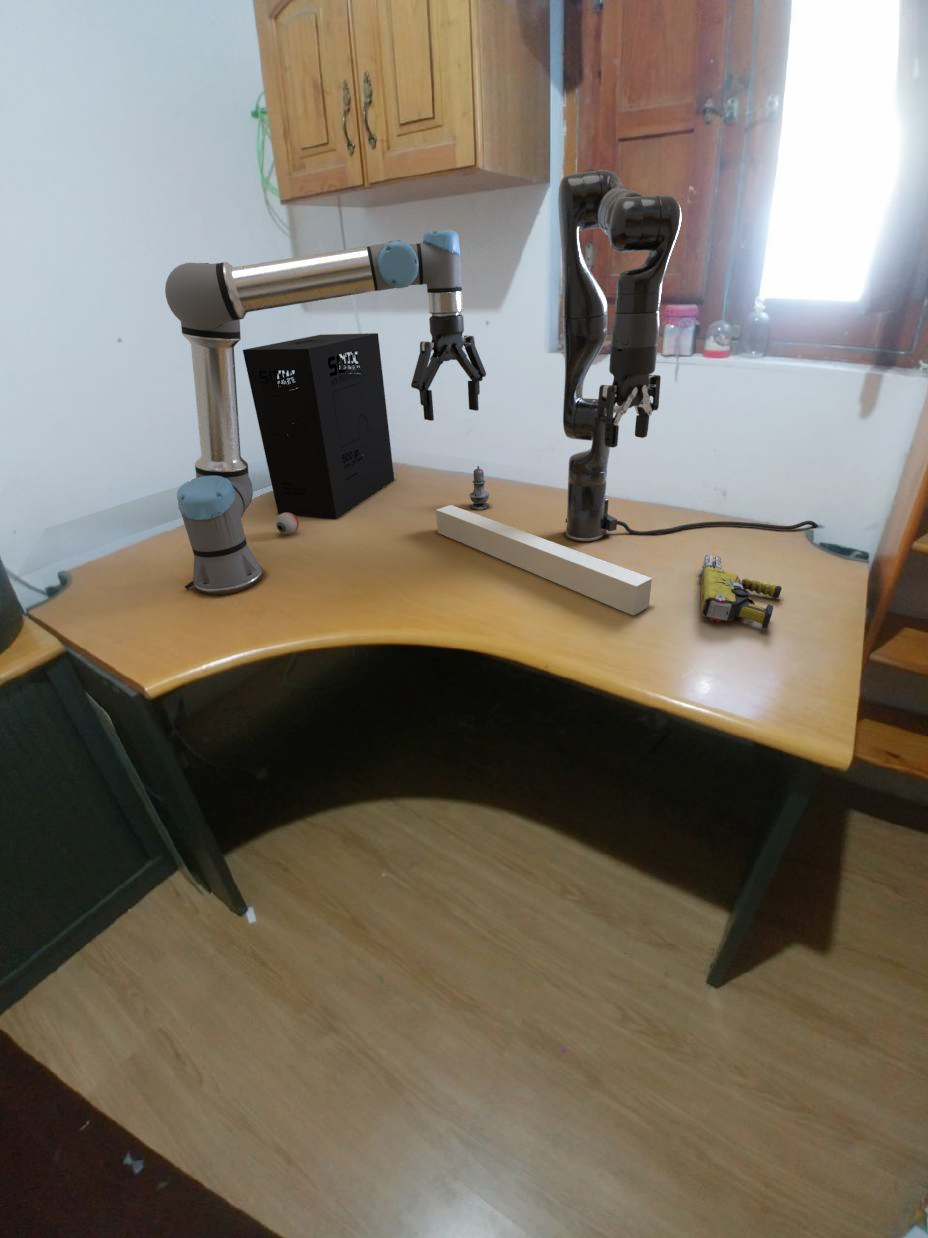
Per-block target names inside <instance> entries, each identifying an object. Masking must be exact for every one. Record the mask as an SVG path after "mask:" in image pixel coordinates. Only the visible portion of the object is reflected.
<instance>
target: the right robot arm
mask: <svg viewBox="0 0 928 1238" xmlns="http://www.w3.org/2000/svg"><path fill="white" fill-rule="evenodd" d="M557 199H558V201H557V203H558V204H557V205H558V206H557V207H558V222H559V234H560V236H559V237H560V247H561V259H562V299H563V300H562V301H563V302H562V328H563V331H562V332H563V346H564V348H563V349H564V386H563V387H564V388H563V406H562V426H563V427H562V428H563V432H564V435H565V436H566V437H567V438H568V439H570V440H577V441H578V440H579V441H588V442H589V441H590V442H591V447H590V448H589V449H587V450H584V451H580V452H576V453H574V454H572V455H571V456H570V457H569V459H568V468H567V469H568V473H567V501H566V502H567V503H566V518H565V523H566V527H565V536H566V537H567V538H568V539H570V540H572V541H576V542H583V543H584V542H586V543H587V542H594V541H599V540H600V539H602V538H604V536H607V531H608V532H613V531H617V530H618V529H617V528H618V526H621V527H623V528H624V529H625V530H626V532H628V533H630V534H632V535H637V536H648V535H649V536H651V535H657V534H665V533H672V532H677V531H680V530H685V529H690V528H697V527H707V526H738V527H739V526H740V527H753V528H761V529H762V528H763V529H770V530H783V531H785V530H787V531H788V530H789V531H791V530H795V529H798V528H802V527H804V526H807V525H810V526H812V527H813V528H819V525H818V524H817V523H816V522H815V521H813V520H804V521H801V522H799V523H796V524H793V525H777V524H776V525H775V524H768V523H759V522H749V521H748V522H747V521H729V520H728V521H727V520H720V521H702V522H701V521H700V522H693V523H686V524H681V525H677V526H672V527H669V528H661V529H652V530H646V531H645V530H644V531H641V530H636V529H635V530H634V529H631V528H630V526H629V525H628V524H627V523H625V522H624V521H622V520H618V519H617V518H616V517H614V516H612V515H610V514H609V498H607V497H606V493H607V477H608V465H609V464H608V463H609V459H610V451H611V448H612V449H613V448H616V447H618V442H619V431H620V430H619V429H620V425H619V423H620V421H621V419H622V417H623V415H625V414H626V413H627V412H628V410H629V409H631V408H633V407H634V409H635V411H636V414H637V415H636V416H635V427H634V428H635V429H634V436H635V437H636V438H640V439H644V438H646V437H647V436H648V431H649V423H650V416H652V414H653V412H654V411H658V410H659V408H660V407H659V406H660V405H659V404H660V393H661V380H662V379H661V378H662V377H661V375H659V374H653V373H654V372H655V371H656V365H657V354H658V344H659V335H660V309H661V308H660V307H661V297H662V296H661V295H662V290H663V289H662V288H663V282H664V278H665V273H666V270H667V267H668V263H669V260H670V257H671V254H672V251H673V249H674V246H675V243H676V240H677V238H678V235H679V231H680V228H681V223H682V211H681V206H680V203H679V202H678V200H677V199H676V197H675V196H673V195H670V194H662V195H661V194H660V195H658V194H657V195H643V194H642V193H640V192H639V191H636V190H634V189H630V188H627V187H626V185H625V184H624V182H623V181H622V180H621V179H620V178H619V176H618V175H617V174H616V173H615V172H613V171H612V170H609V169H597V170H591V171H584V172H579V173H571V174H567V175H564V176H563V178H562V179H561V180H560V183H559V187H558V197H557ZM595 229H600V230H601V231H602V233H603V234H605V235H606V236H608V241H609V244H610V245H609V246H610V247H611V248H612V250H614V251H616V252H620V253H632V252H648V255H647V257H646V259H645V260H644V262H643V264H642V265H640V266H638V267H635V268H631V269H628V270H625V271H623V272H621V273H620V274H619V275H618V277H617V279H616V285H615V299H614V300H615V301H614V315H613V321H612V326H611V336H610V337H611V338H610V350H609V351H610V352H609V366H608V371H609V373H610V374H611V375H612V376H613V381H612V384H611V385H610V384H601V385H600V386H599V389H598V398H584V396H583V391H584V390H583V389H584V383H585V379H586V376H587V374H588V372H589V371H590V368H591V367H592V365H593V363H594V362H595V360H596V358H597V357H598V356H599V354H600V352H601V350H602V348H603V346H604V344H605V342H606V340H607V337H608V315H609V314H608V313H609V312H608V308H609V307H608V300H607V298H606V297H607V296H606V294H605V293H604V291H603V289H602V287H601V286H600V284H599V282H598V280H597V279H596V277H595V276H594V274H593V273H592V271H591V270H590V268H589V266H588V264H587V262H586V260H585V257H584V254H583V252H582V247H581V243H580V232H583V231H589V230H595ZM651 397H652V400H651ZM614 413H615V415H614Z"/></svg>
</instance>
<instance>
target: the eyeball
mask: <svg viewBox="0 0 928 1238" xmlns="http://www.w3.org/2000/svg"><path fill="white" fill-rule="evenodd" d="M299 525H300V522H299V519H298V517H297V515H294V514H292V513H288V512H285V513H282V514H280V513H279V515H278V516H277V517H276V520H275V527H276V529H277V530H278V531H279V532H280V533H281V534H282V535H285V536H286V535H287V536H289V535H293V534H295V533H296V532H297V531H298V529H299Z"/></svg>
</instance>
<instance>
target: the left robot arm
mask: <svg viewBox="0 0 928 1238" xmlns="http://www.w3.org/2000/svg"><path fill="white" fill-rule="evenodd" d="M462 280H463V279H462V254H461V248H460V237H459V233H457V231H455V230H451V229H445V230H444V229H443V230H442V229H441V230H431V231H426V232H424V233H423V235H422V242H418V243H408V242H406V241H402V240H400V239H397V240H390V241H388V242H386V243H379V244H372V245H369V246H367V245H366V246H360V247H353V248H348V249H340V250H334V251H328V252H321V253H315V254H309V255H302V256H297V257H288V258H284V259H277V260H271V261H270V260H269V261H265V262H258V263H251V264H245V265H240V266H233V265H231V263H229V262H227V261H224V262H216V263H209V262H185V263H182V264H179V265H177V266H176V267H175V268H173V270H171V271H170V273H169V274H168V276H167V278H166V282H165V286H164V287H165V288H164V292H165V298H166V303H167V305H168V307H169V309H170V311H171V312H172V313H173V315H174V316H175V317H176V318H177V320H178V321H180V328H181V335H182V336H183V337H184V338H185V339H186V340H187V341H188V342H189V344H190V351H191V359H192V360H191V361H192V373H193V383H194V392H195V393H194V394H195V404H196V415H197V423H198V424H197V425H198V435H199V446H200V447H199V448H200V456H199V457H198V458H197V459H196V460H195V462H194V469H195V478H192V479H191V480H190V481H186V482H184V483H182V485H180V487H178V489H177V492H176V499H177V506H178V510H179V512H180V514H181V517H182V521H183V524H184V527H185V531H186V533H187V537H188V540H189V543H190V548H191V549H192V554H193V569H192V570H193V571H192V580H191V581H190V582H188V583H187V584H186V585H184V589H186V590H190V588H192V587H194V590H195V591H196V592H197V593H199V594H201V595H204V596H226V595H232V594H236V593H240V592H243V591H245V590H248V589H250V588H252V587H254V586H255V585H257V584H258V583H259V582H260V581H262V579H263V576H264V574H263V569H262V566H261V565H260V562H259V561H258V560H257V558H256V557H255V555H254V554H253V552H252V550H251V548H250V547H249V545H248V542H247V539H246V534H245V529H244V527H243V522H242V518H243V516H244V514H245V513H246V510H247V509H248V508H249V506H250V505H251V503H252V499H253V497H254V487H253V482H252V480H251V478H250V475H249V474H250V473H249V463H248V462H247V461H246V460H245V459H244V458H243V457H242V455H241V454H242V453H241V440H240V438H241V437H240V426H239V425H240V424H239V423H240V422H239V410H238V409H239V408H238V392H237V378H236V361H235V347H236V345H237V344H238V343H239V342H240V341H241V340H242V339H241V337H242V335H241V321H240V320H244V318H245V317H246V315H247V314H248V313H250V312H251V313H252V312H257V311H263V310H269V309H274V308H275V309H276V308H280V307H288V306H295V305H300V304H306V303H311V302H312V303H313V302H318V301H323V300H329V299H336V298H342V297H348V296H354V295H361V294H366V293H367V294H368V293H371V292H379V291H386V290H393V289H404V288H408V287H410V286H418V285H419V286H422V285H426V292H427V307H428V313H429V314H430V315H431V316H430V317H429V318H428V319H429V333H430V335H431V341H423V340H422V341H420V342H419V355H418V358H417V362H416V365H415V370H414V373H413V376H412V379H411V384H410V387H411V388H412V389H415V390H417V391H418V392H419V401H420V402H419V403H420V405H421V406H422V409H423V410H422V411H423V419H424V420H426V421H430V422H432V421H435V418H434V417H435V416H434V403H433V402H434V401H433V391H432V390H431V389H430V387H431V386H432V383H433V381H434V380H435V377H436V376H437V373H438V371H439V369H440V367H441V365H443V363H444V362H450V361H451V360H452V361H456V362H457V363H458V364H459V365H460V367H461V368H462V369H463V371H464V373H466V375H467V376H468V378H469V379H470V380H467V395H468V397H467V398H468V410H470V411H477V412H478V411H479V409H480V408H479V395H480V393H481V391H480V390H481V385H480V382H482V381H483V379H484V378H486V376H487V371H486V369H485V366H484V365H483V362H482V360H481V357H480V355H479V352H478V350H477V347H476V342H475V336H474V335H467V334H465V335H463V333H464V332H465V323H464V322H465V321H464V315H463V314H461V313H463V312H464V302H463V286H462V285H463V284H462V282H463V281H462ZM463 348H464V349H463ZM464 350H465V351H464ZM431 352H433V353H431Z"/></svg>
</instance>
